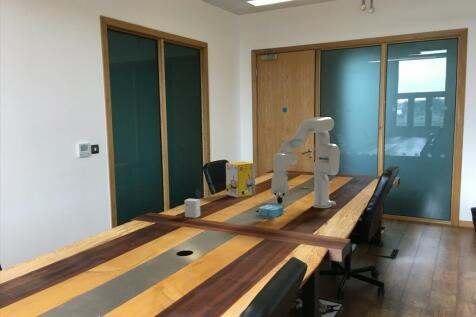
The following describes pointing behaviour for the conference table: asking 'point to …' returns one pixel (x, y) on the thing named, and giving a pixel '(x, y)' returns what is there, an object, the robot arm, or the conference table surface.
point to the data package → (271, 210)
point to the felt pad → (263, 216)
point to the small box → (192, 208)
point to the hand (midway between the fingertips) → (279, 203)
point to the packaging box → (240, 179)
